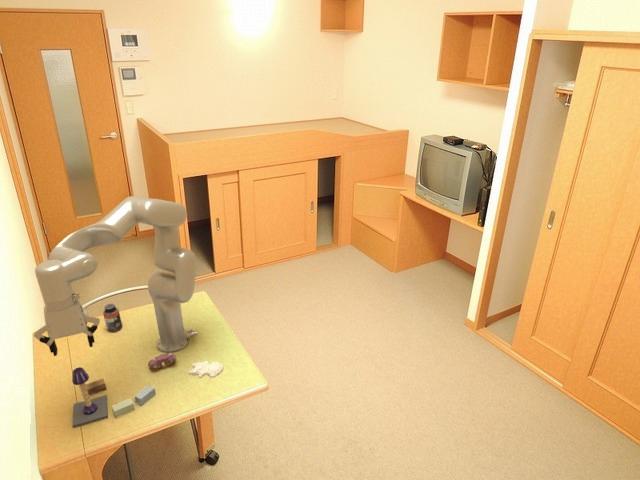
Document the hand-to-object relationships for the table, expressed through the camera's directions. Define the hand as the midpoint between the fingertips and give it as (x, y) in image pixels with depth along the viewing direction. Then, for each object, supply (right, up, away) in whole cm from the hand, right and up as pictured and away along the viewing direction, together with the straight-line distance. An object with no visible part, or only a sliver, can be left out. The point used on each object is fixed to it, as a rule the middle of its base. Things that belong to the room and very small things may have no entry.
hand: (73, 348), depth 135 cm
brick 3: (+16, -21, +16) cm, 31 cm away
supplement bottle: (-12, -4, +52) cm, 53 cm away
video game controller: (+16, -14, +31) cm, 38 cm away
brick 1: (-3, -19, +19) cm, 28 cm away
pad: (0, -23, +10) cm, 26 cm away
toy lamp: (0, -23, +10) cm, 25 cm away
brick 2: (+10, -23, +11) cm, 28 cm away
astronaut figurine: (+33, -16, +30) cm, 47 cm away
